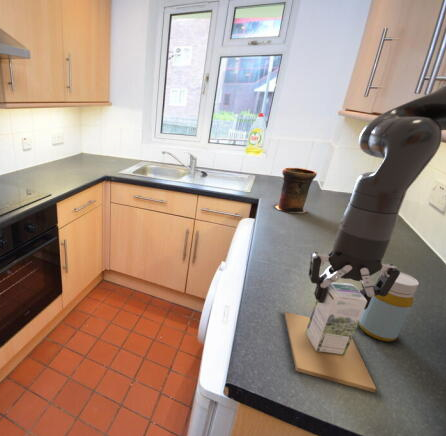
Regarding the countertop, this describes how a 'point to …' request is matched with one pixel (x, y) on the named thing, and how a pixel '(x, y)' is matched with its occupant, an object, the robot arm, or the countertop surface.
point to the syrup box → (336, 318)
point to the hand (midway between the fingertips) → (338, 304)
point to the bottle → (389, 310)
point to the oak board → (326, 358)
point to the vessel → (295, 189)
